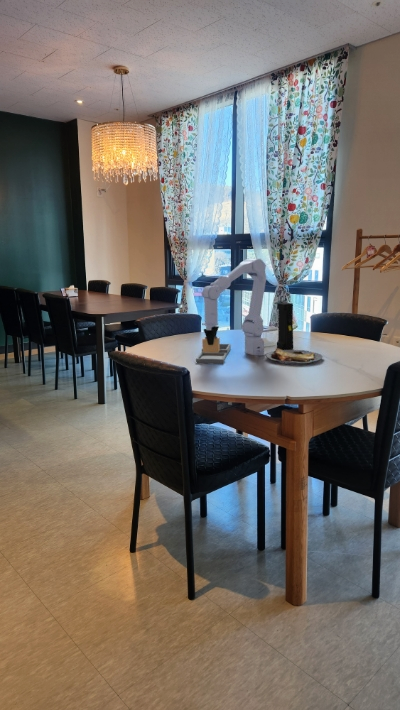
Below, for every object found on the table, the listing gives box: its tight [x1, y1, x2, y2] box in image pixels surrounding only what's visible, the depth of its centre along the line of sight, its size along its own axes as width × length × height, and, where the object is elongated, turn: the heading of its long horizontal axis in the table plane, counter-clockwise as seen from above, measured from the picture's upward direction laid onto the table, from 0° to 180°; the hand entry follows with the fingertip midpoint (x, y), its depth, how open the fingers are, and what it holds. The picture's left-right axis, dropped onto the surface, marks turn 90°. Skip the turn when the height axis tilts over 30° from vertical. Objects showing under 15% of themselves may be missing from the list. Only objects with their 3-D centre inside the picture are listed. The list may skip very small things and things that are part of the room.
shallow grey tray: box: [195, 351, 228, 365], centre depth 214 cm, size 15×12×2 cm
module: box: [201, 335, 221, 353], centre depth 213 cm, size 5×7×7 cm
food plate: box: [264, 348, 324, 365], centre depth 212 cm, size 25×23×4 cm
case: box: [201, 343, 232, 356], centre depth 228 cm, size 14×12×3 cm
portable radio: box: [276, 297, 295, 351], centre depth 232 cm, size 8×6×25 cm
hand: (211, 343), depth 213 cm, fingers closed on module, 5 cm apart
